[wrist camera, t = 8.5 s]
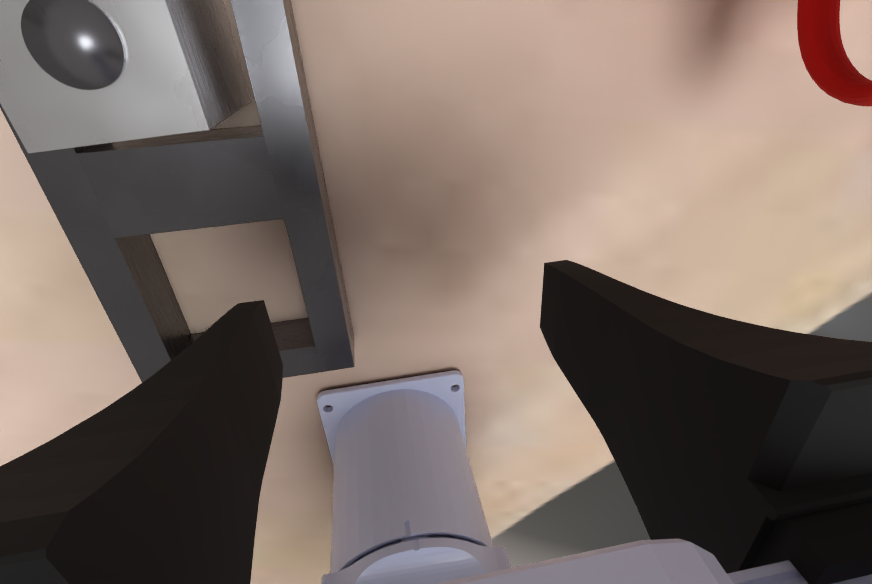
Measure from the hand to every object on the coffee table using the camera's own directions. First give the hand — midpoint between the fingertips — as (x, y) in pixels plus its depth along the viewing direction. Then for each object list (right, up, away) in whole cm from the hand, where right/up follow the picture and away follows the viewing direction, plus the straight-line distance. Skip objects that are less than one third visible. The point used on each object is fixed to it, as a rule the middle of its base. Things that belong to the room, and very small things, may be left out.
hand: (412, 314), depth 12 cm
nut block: (-9, +9, +4) cm, 13 cm away
